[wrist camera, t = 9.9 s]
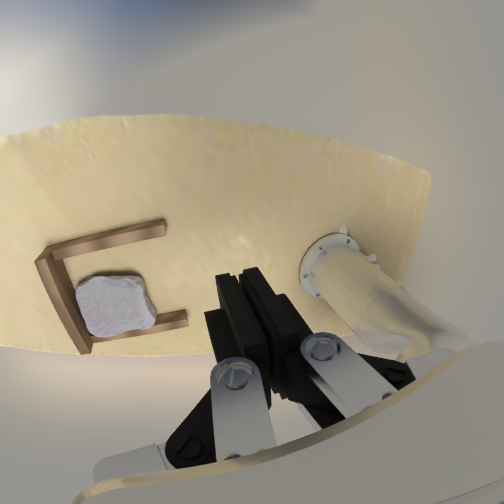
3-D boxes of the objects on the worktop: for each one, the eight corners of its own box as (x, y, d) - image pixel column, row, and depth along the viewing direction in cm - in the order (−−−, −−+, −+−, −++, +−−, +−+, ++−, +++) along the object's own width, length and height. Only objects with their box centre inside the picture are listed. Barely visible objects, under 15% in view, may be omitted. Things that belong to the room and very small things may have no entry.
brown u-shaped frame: (164, 218, 35) (163, 231, 31) (187, 316, 43) (190, 336, 39) (46, 246, 31) (34, 261, 27) (85, 334, 39) (80, 354, 34)
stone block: (75, 275, 36) (96, 330, 39) (66, 285, 32) (90, 344, 35) (142, 258, 39) (159, 316, 42) (139, 267, 35) (159, 330, 38)
